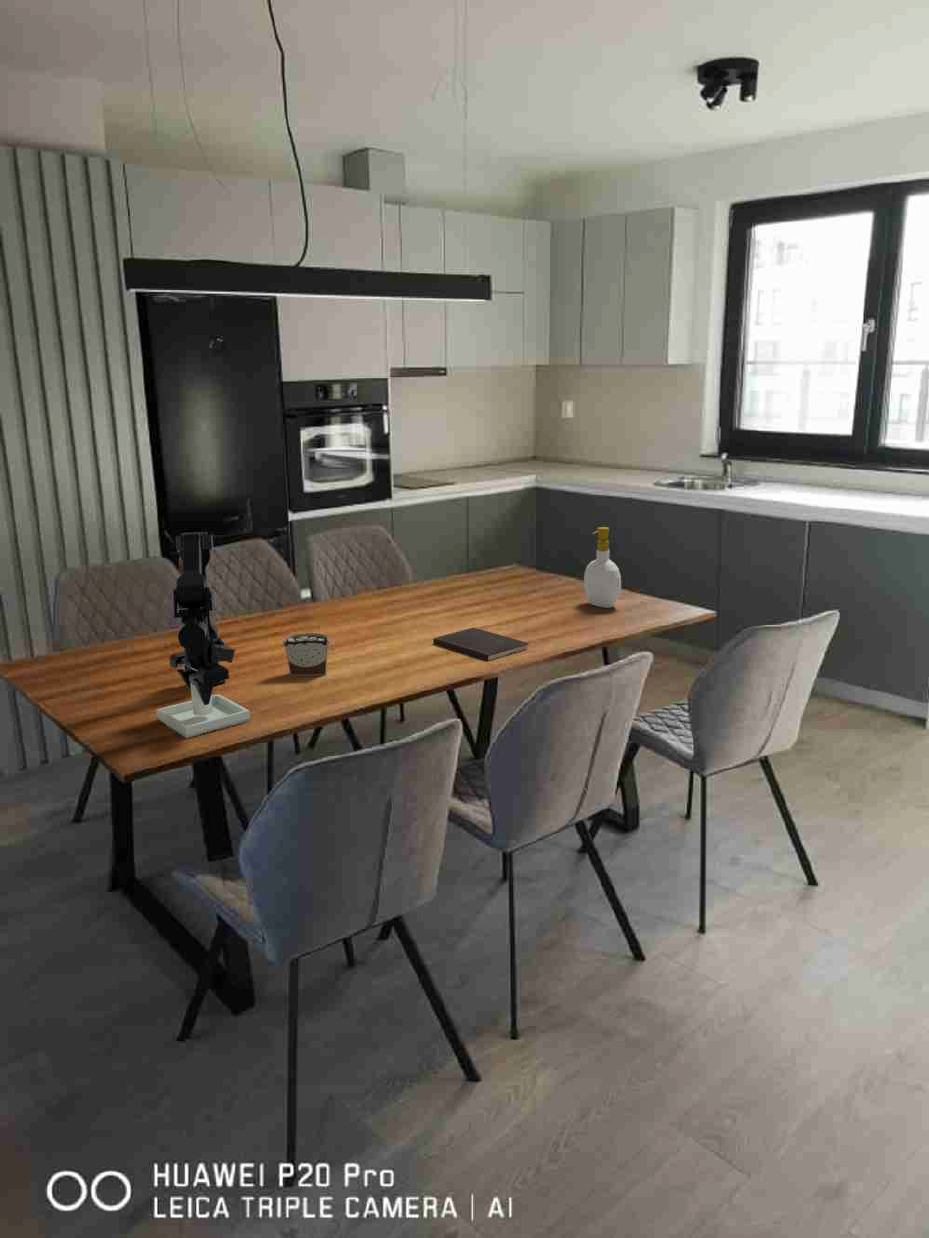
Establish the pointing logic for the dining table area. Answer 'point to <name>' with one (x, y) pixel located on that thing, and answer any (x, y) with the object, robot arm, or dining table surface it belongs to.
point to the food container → (306, 654)
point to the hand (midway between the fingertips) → (202, 701)
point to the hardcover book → (480, 643)
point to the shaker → (199, 700)
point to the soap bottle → (602, 575)
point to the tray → (203, 717)
